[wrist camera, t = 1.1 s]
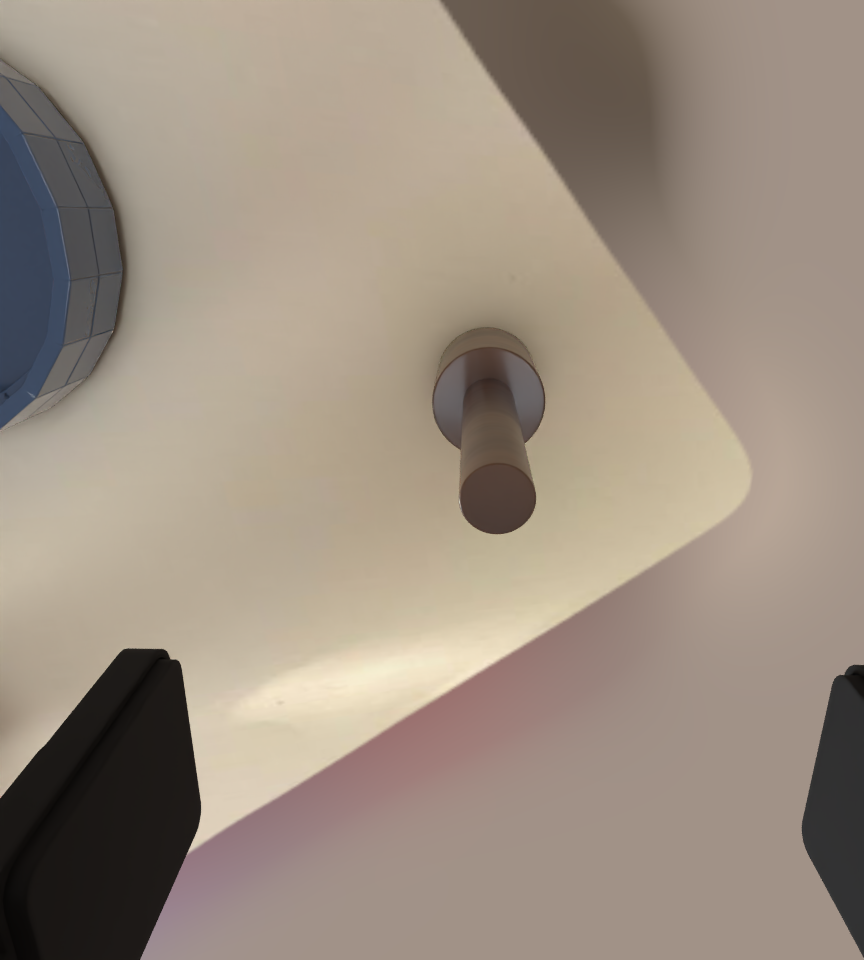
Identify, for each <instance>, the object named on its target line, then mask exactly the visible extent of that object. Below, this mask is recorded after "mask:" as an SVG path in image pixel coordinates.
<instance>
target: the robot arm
mask: <svg viewBox="0 0 864 960" xmlns="http://www.w3.org/2000/svg"><path fill="white" fill-rule="evenodd" d="M200 816H201V800H200V793H199V786H198V779H197V772H196V765H195V758H194V751H193V744H192V737H191V731H190V724H189V717H188V710H187V703H186V696H185V689H184V682H183V675H182V668H181V664H180V663H179V661H178V660H170V657H169V654H168V653H167V651H165V650H164V649H129V648H128V649H123V650H122V651H121V652H120V653H119V654H118V655H117V657H116V658H115V659H114V660H113V662H112V663H111V664H110V665H109V667H108V668H107V669H106V670H105V672H104V673H103V674H102V675H101V677H100V678H99V679H98V680H97V682H96V683H95V684H94V685H93V687H92V688H91V689H90V690H89V691H88V693H87V694H86V695H85V696H84V698H83V699H82V700H81V701H80V703H79V704H78V705H77V706H76V708H75V709H74V710H73V711H72V713H71V714H70V715H69V716H68V718H67V719H66V720H65V721H64V723H63V724H62V725H61V726H60V727H59V729H58V730H57V731H56V732H55V734H54V735H53V736H52V737H51V739H50V740H49V741H48V742H47V744H46V745H45V746H44V747H42V748H41V749H40V750H39V751H38V752H37V754H36V755H35V756H34V757H33V759H32V760H31V761H30V762H29V764H28V765H27V766H26V767H25V769H24V770H23V771H22V772H21V773H20V775H19V776H18V777H17V778H16V780H15V781H14V782H13V783H12V785H11V786H10V787H9V788H8V790H7V791H6V792H5V793H4V795H3V796H2V797H1V798H0V960H140V958H141V956H142V954H143V952H144V949H145V947H146V945H147V943H148V940H149V938H150V936H151V933H152V931H153V929H154V927H155V925H156V922H157V920H158V918H159V915H160V913H161V911H162V909H163V906H164V904H165V902H166V900H167V898H168V895H169V893H170V891H171V888H172V886H173V884H174V882H175V879H176V877H177V875H178V872H179V870H180V868H181V866H182V864H183V861H184V859H185V857H186V855H187V852H188V850H189V848H190V846H191V843H192V841H193V839H194V837H195V834H196V832H197V829H198V826H199V822H200ZM802 836H803V842H804V845H805V848H806V850H807V853H808V855H809V857H810V859H811V861H812V862H813V864H814V866H815V868H816V870H817V871H818V873H819V875H820V877H821V879H822V881H823V883H824V884H825V887H826V888H827V890H828V892H829V894H830V896H831V898H832V900H833V901H834V903H835V905H836V907H837V909H838V911H839V913H840V914H841V916H842V918H843V920H844V922H845V924H846V925H847V927H848V929H849V931H850V933H851V935H852V937H853V938H854V940H855V942H856V944H857V946H858V948H859V950H860V952H861V953H862V955H863V957H864V665H853V666H850V667H849V668H848V669H847V670H846V672H845V675H839V676H837V677H836V678H835V679H834V681H833V684H832V688H831V693H830V698H829V702H828V707H827V711H826V716H825V720H824V725H823V730H822V734H821V739H820V744H819V748H818V752H817V757H816V762H815V766H814V771H813V775H812V780H811V784H810V789H809V794H808V798H807V803H806V808H805V812H804V816H803V821H802Z"/></svg>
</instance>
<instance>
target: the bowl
mask: <svg viewBox="0 0 864 960" xmlns="http://www.w3.org/2000/svg"><path fill="white" fill-rule="evenodd" d="M112 207H113V206H112V204H111V202H110V199H109V197H108V195H107V193H106V191H105V188H104V186H103V184H102V182H101V180H100V177H99V175H98V173H97V171H96V168H95V166H94V164H93V162H92V160H91V157H90V155H89V153H88V151H87V148H86V146H85V145H84V142H83V141H82V140H81V139H80V137H79V136H78V135H77V134H76V132H75V131H74V130H73V129H72V128H71V126H70V125H69V124H68V123H67V121H66V120H65V119H64V118H63V116H62V115H61V114H60V113H59V112H58V110H57V109H56V108H55V107H54V105H53V104H52V103H51V102H50V100H49V99H48V98H47V97H46V96H45V94H44V93H43V92H42V91H41V89H40V88H39V87H37V86H36V85H35V84H34V83H32V82H31V81H30V80H28V79H27V78H25V77H24V76H23V75H21V74H20V73H19V72H17V71H16V70H14V69H13V68H12V67H10V66H9V65H7V64H6V63H5V62H3V61H2V60H0V432H1V431H3V430H5V429H7V428H9V427H11V426H13V425H16V424H18V423H20V422H22V421H24V420H26V419H28V418H30V417H33V416H35V415H37V414H39V413H41V412H43V411H45V410H48V409H49V408H51V407H53V406H54V405H55V404H56V403H58V402H59V401H60V400H61V399H62V398H64V397H65V396H66V395H67V394H68V393H69V392H71V391H72V390H73V389H74V388H75V387H77V386H78V385H79V384H80V383H81V382H82V381H84V380H85V379H86V378H87V377H88V375H90V374H91V372H92V370H93V368H94V366H95V364H96V362H97V361H98V359H99V357H100V355H101V353H102V351H103V349H104V348H105V346H106V344H107V342H108V340H109V338H110V336H111V335H112V333H113V331H114V327H115V321H116V314H117V308H118V301H119V295H120V288H121V281H122V275H123V273H122V271H123V268H122V261H121V255H120V248H119V242H118V235H117V229H116V222H115V216H114V210H113V208H112Z"/></svg>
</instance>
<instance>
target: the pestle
mask: <svg viewBox="0 0 864 960" xmlns="http://www.w3.org/2000/svg"><path fill="white" fill-rule="evenodd" d="M432 407H433V414H434V418H435V421H436V423H437V425H438V427H439V429H440V431H441V432H442V434H443V435H444V436H445V438H446V439H447V440H448V441H449V442H450V443H452V444H453V445H454V446H456V447H457V448H459V449H460V450H461V460H460V484H459V505H460V509H461V512H462V514H463V516H464V517H465V519H466V520H467V521H468V522H469V523H470V524H471V525H472V526H473V527H475V528H477V529H478V530H480V531H483V532H486V533H490V534H504V533H508V532H512V531H514V530H516V529H518V528H519V527H521V526H522V525H524V524H525V523H526V522H527V521H528V519H529V518H530V517H531V515H532V513H533V511H534V508H535V504H536V492H535V487H534V483H533V478H532V474H531V470H530V465H529V461H528V457H527V453H526V448H525V443H526V442H527V441H528V440H529V439H530V438H531V437H532V436H533V434H534V433H535V432H536V430H537V429H538V427H539V425H540V423H541V420H542V418H543V414H544V410H545V392H544V387H543V384H542V381H541V379H540V376H539V374H538V372H537V369H536V367H535V364H534V362H533V360H532V357H531V355H530V353H529V351H528V350H527V348H526V347H525V345H524V344H523V343H522V342H521V341H520V340H519V339H518V338H516V337H515V336H514V335H512V334H510V333H508V332H506V331H504V330H501V329H496V328H478V329H473V330H470V331H468V332H466V333H463V334H462V335H460V336H459V337H457V338H456V339H455V340H454V341H452V342H451V344H450V345H449V346H448V347H447V348H446V350H445V352H444V353H443V355H442V357H441V360H440V363H439V367H438V372H437V377H436V381H435V386H434V391H433V398H432Z"/></svg>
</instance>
